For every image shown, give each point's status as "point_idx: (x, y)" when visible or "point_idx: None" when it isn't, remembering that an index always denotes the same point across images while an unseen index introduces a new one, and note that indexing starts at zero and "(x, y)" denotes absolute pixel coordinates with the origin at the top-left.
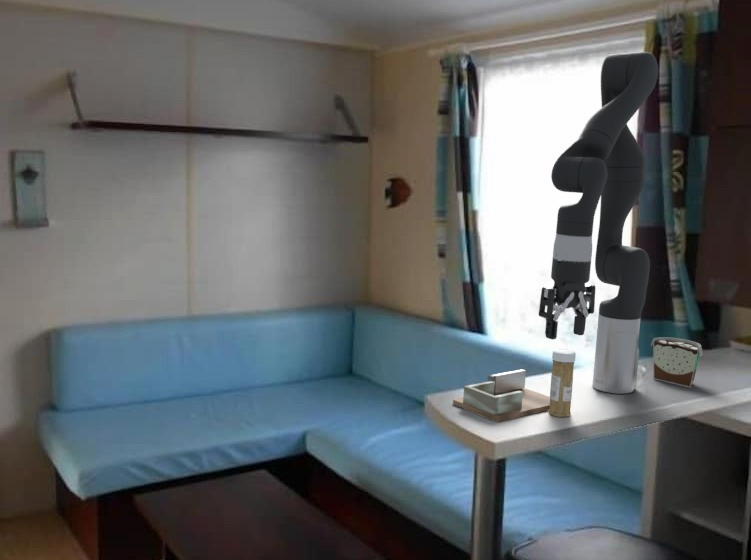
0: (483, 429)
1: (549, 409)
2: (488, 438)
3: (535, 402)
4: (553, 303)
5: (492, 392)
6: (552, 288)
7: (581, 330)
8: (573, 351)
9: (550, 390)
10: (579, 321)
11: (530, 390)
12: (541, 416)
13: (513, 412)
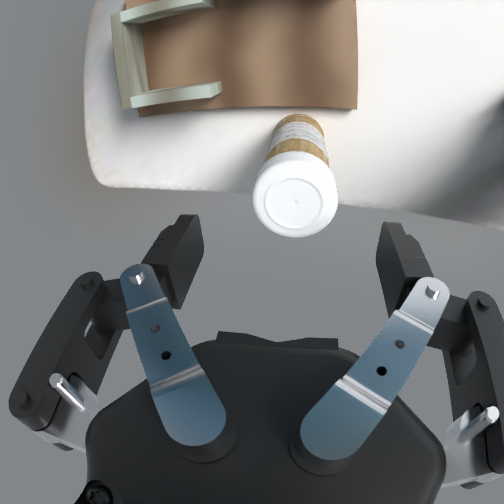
0: (105, 135)
1: (280, 124)
2: (95, 170)
3: (287, 75)
4: (100, 382)
5: (205, 6)
6: (69, 444)
7: (379, 271)
8: (323, 222)
9: (275, 135)
10: (391, 288)
11: (354, 7)
12: (251, 126)
13: (185, 106)
